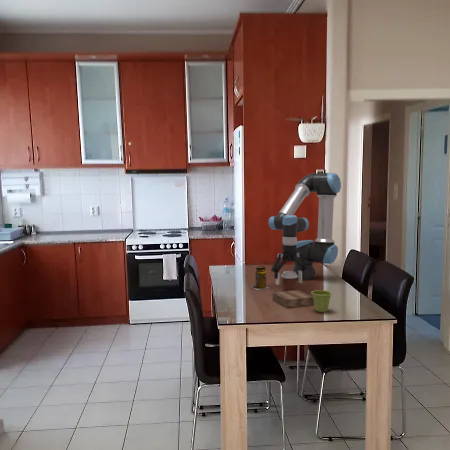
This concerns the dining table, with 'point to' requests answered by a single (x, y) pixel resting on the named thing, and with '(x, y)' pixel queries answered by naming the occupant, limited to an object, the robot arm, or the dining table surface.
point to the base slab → (293, 298)
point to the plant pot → (321, 300)
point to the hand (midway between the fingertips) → (288, 283)
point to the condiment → (260, 278)
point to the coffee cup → (289, 280)
